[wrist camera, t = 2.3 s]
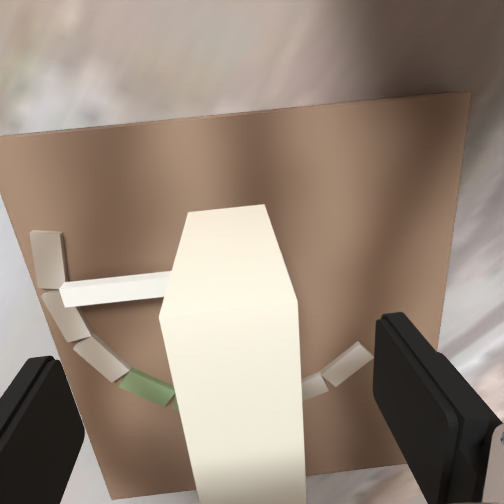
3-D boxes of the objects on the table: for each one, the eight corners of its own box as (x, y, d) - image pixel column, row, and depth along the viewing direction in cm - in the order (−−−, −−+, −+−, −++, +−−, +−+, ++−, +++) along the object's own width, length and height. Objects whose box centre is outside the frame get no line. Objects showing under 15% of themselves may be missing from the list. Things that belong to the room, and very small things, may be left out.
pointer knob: (279, 182, 16) (345, 296, 7) (288, 335, 19) (341, 541, 10) (42, 206, 15) (-179, 354, 7) (91, 358, 18) (-22, 587, 10)
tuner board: (451, 92, 16) (476, 92, 15) (411, 440, 25) (424, 466, 23) (2, 135, 16) (-24, 141, 14) (118, 476, 24) (110, 505, 23)
